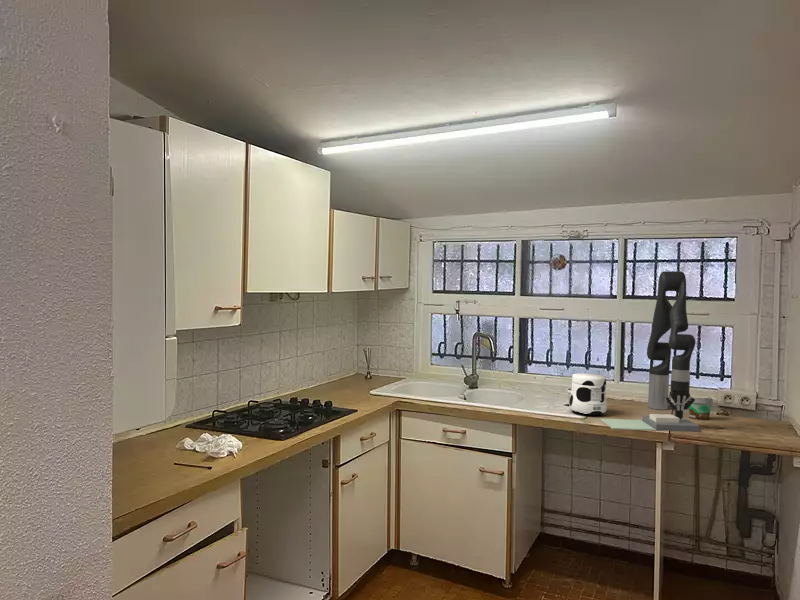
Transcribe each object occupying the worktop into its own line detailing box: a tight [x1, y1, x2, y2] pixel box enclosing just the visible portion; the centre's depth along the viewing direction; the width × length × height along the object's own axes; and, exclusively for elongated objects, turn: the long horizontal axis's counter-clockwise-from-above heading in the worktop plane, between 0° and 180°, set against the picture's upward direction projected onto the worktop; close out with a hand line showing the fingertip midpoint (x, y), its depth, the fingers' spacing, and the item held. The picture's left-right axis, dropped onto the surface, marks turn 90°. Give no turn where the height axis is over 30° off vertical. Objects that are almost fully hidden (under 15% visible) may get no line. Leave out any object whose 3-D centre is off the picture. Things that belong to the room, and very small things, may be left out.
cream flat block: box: [649, 413, 679, 423], centre depth 261 cm, size 7×10×2 cm
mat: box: [600, 418, 656, 431], centre depth 262 cm, size 17×18×1 cm
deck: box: [641, 415, 700, 433], centre depth 261 cm, size 16×18×2 cm
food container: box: [688, 395, 714, 421], centre depth 277 cm, size 12×6×10 cm, turn 105°
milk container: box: [568, 372, 608, 416], centre depth 283 cm, size 17×17×18 cm
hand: (678, 418), depth 261 cm, fingers closed
